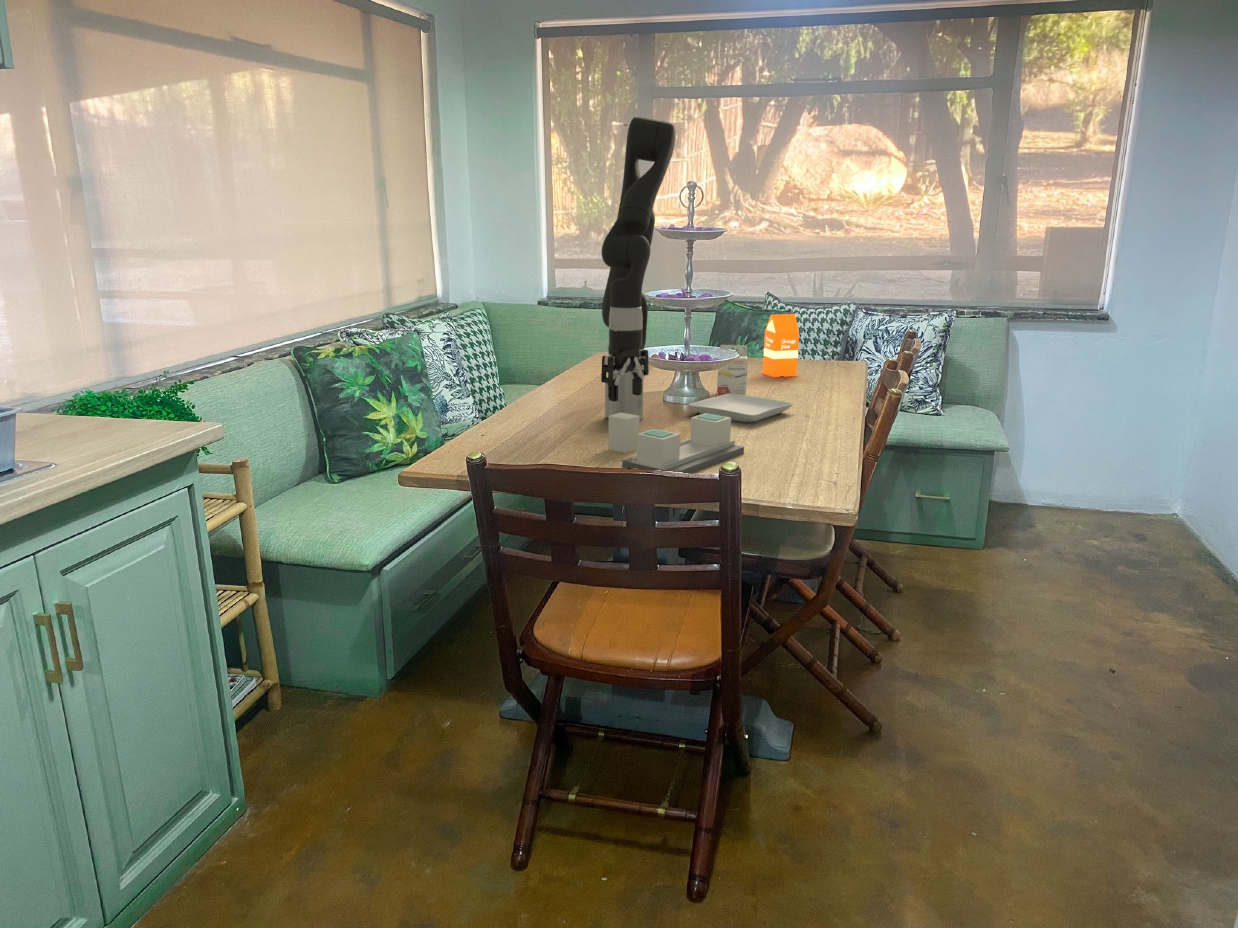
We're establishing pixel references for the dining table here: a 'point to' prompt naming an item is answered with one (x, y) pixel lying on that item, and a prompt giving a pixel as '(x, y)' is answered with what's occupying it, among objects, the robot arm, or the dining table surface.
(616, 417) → the loose module
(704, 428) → the board
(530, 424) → the dining table surface
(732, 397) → the salad plate
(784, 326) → the orange juice
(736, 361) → the ink cartridge box
